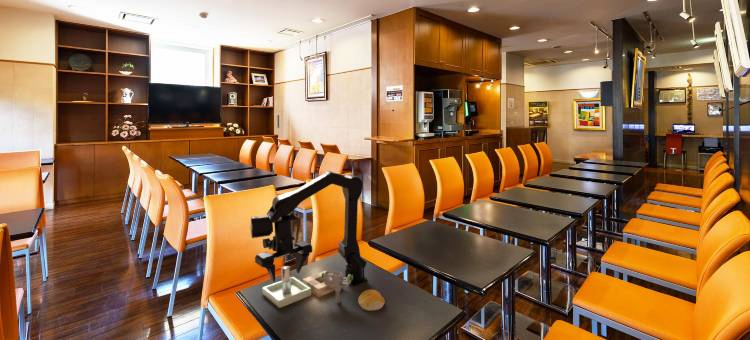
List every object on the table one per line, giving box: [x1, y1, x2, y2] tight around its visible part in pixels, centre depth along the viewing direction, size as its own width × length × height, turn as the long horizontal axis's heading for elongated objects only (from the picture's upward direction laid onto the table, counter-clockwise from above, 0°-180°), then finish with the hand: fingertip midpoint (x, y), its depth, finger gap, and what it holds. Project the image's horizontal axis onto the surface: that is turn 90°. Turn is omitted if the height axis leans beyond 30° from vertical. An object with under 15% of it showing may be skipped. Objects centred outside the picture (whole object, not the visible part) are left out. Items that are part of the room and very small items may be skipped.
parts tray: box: [262, 276, 312, 309], centre depth 123 cm, size 12×12×2 cm
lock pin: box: [280, 265, 292, 295], centre depth 122 cm, size 3×3×9 cm
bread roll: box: [357, 289, 385, 312], centre depth 117 cm, size 8×9×4 cm
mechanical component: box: [322, 270, 353, 304], centre depth 117 cm, size 3×10×10 cm, turn 78°
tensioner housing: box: [302, 270, 343, 298], centre depth 128 cm, size 10×10×3 cm
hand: (286, 277), depth 122 cm, fingers open, 9 cm apart
